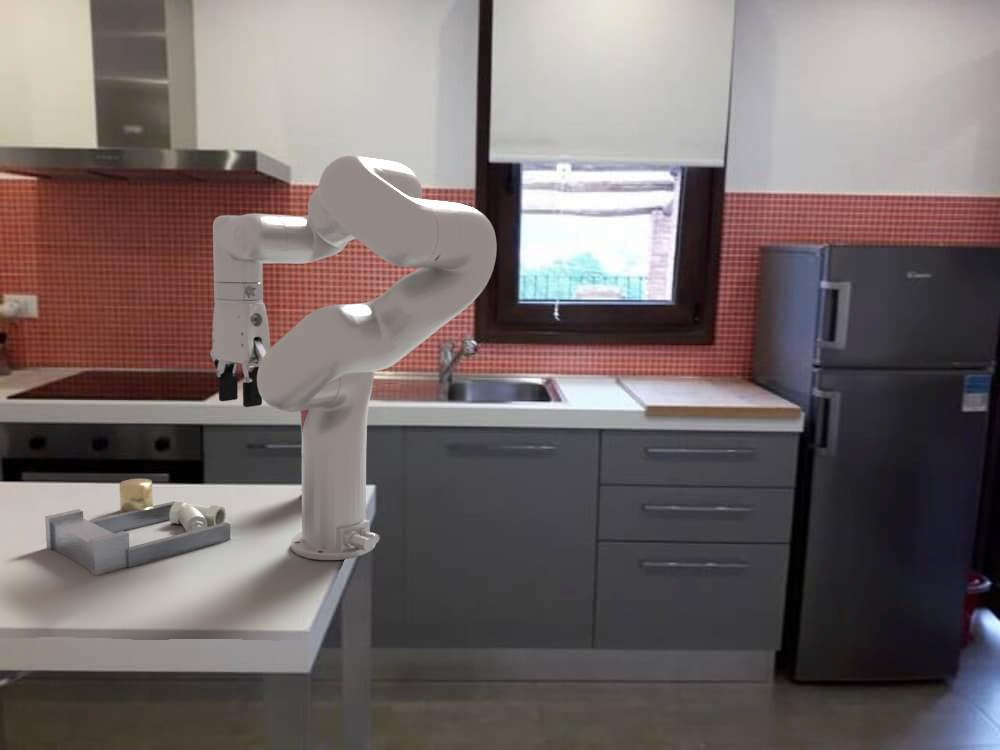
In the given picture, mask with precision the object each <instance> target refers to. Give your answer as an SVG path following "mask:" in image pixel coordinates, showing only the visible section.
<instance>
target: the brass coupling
mask: <svg viewBox="0 0 1000 750" xmlns="http://www.w3.org/2000/svg"><path fill="white" fill-rule="evenodd" d="M119 502H120V504H119V505H120V513H125V512H129V511H134V510H138V509H142V508H147V507H151V506H154V503H153V481H152V479H148V478H130V479H126V480H122V481H121V482H119Z"/></svg>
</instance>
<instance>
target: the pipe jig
mask: <svg viewBox="0 0 1000 750" xmlns="http://www.w3.org/2000/svg"><path fill="white" fill-rule="evenodd" d="M175 502H176V501H169V502H166V503H162V504H156V505H153V506H151V507H147V508H142V509H138V510H134V511H129V512H125V513H121V512H120V513H117V514H116V513H115V514H112V515H109V516H104V517H99V518H95V519H89V520H87V519H86V518H84V511H83V510H81V509H79V508H78V509H74V510H73V509H72V510H70V511H64V512H58V513H55V514H51V515H50V514H49V515H45V516H44V518H45V524H44V525H45V540H46V543H45V544H46V549H49V550H50V551H56V552H58V553H59V554H61V555H63V556H64V557H66V558H68V559H69V560H72V561H74V562H75V563H77V564H78V565H80V566H83V568H85V569H87V570H89V571H90V574H92V575H93V576H100V575H103V574H107V573H110V572H115V571H117V570H120V569H124V568H129V569H130V568H133V567H137V566H139V565H144V564H147V563H152V562H154V561H159V560H162V559H165V558H169V557H172V556H176V555H180V554H183V553H186V552H190V551H193V550H194V551H195V550H197V549H201V548H205V547H208V546H212V545H215V544H218V543H223V542H226V541H230V540H231V523H229V522H226V521H225V522H224V523H220V524H216V525H213V526H209V527H205V528H201V529H197V530H193V531H190V532H187V531H186V532H182V533H178V534H175V535H171V536H166V537H163V538H159V539H156V540H155V539H154V540H152V541H148V542H145V543H140V544H136V545H133V546H130V533H129V532H127V531H128V530H132V529H136V528H140V527H144V526H148V525H153V524H156V523H161V522H165V521H170V517H169V513H170V509H171V507H172V505H173V504H174V503H175Z"/></svg>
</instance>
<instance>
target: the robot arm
mask: <svg viewBox="0 0 1000 750" xmlns="http://www.w3.org/2000/svg"><path fill="white" fill-rule="evenodd" d="M307 213H308V214H307V215H303V216H302V215H301V216H294V215H287V214H286V215H285V214H270V213H269V214H268V213H267V214H266V213H246V214H245V213H244V214H242V215H226V214H225V215H219V216H217V217H215V219H214V220H213V223H212V255H213V256H212V257H213V295H214V296H213V297H214V298H213V300H214V301H213V302H214V305H213V306H214V308H213V314H212V315H213V316H212V317H213V319H212V334H211V335H212V338H211V339H212V348H211V350H210V352H209V355H210V356H211V359H212V361H213V365H214V366H215V369H216V377H218V401H220V402H228V401H236V400H237V399H238V395H239V394H238V393H239V392H238V391H239V389H238V376H237V375H235V374H236V370H237V366H238V365H239V366H240V365H241V368H242V372H243V375H244V376H243V377H244V382H242V406H243V407H244V408H252V407H258V406H262V404H263V401H264V402H265V404H266V405H267V406H269V407H270V408H272V409H273V410H276V411H278V412H283V413H295V412H296V413H297V412H300V411H302V410H308V409H310V410H309V412H308V415H307V417H306V420H305V423H304V427H303V432H302V431H301V489H302V491H301V532H298V533H297V534H296V535H294V537H293V538H292V539H291V542H290V543H291V544H290V545H291V550H292V551H293V552H294V553H295V554H296V555H298V556H300V557H302V558H306V559H310V560H317V561H340V560H349V559H353V558H357V557H361V556H364V555H366V554H368V553H369V552H371V551H372V550H373V549H375V547H376V544H378V542H379V541H380V539H381V538H380V535H379V534H377V533H375V532H371V531H370V524H371V523H370V522H371V521H370V520H369V519H367V518H366V516H367V514H366V513H367V512H366V511H367V510H366V509H367V501H366V500H367V437H368V436H367V435H368V433H367V431H368V413H369V407H370V406H369V405H370V400H371V396H372V392H373V391H372V390H373V387H374V386H373V385H374V377H375V372H377V371H382V370H385V369H389V368H390V367H392V366H394V365H395V364H397V363H398V362H400V360H402V359H403V358H404V357H406V356H407V355H408V354H409V353H410V352H412V351H414V350H415V349H416V348H417V347H418V346H420V345H421V344H422V343H425V341H426V340H427V339H429V338H430V337H431V336H432V335H434V334H435V332H437V331H439V330H440V329H441V328H442V327H444V326H445V325H446V324H447V323H449V322H450V321H451V320H453V319H454V318H455V317H457V316H459V315H460V314H461V313H462V312H464V311H465V310H466V309H467V308H468V307H470V305H471V304H473V302H474V301H475V300H476V299H477V298H478V297H479V296H480V295H481V293H483V291H484V289H485V288H486V286H487V284H488V283H489V280H490V279H491V277H492V273H493V271H494V267H495V263H496V258H497V250H498V249H497V247H498V246H497V245H498V243H497V238H496V237H497V236H496V232H495V229H494V227H493V225H492V223H491V221H490V220H489V219H488V218H487V216H486V215H485V214H484V213H482V212H481V211H479V210H478V209H476V208H474V207H471V206H468V205H465V204H462V203H458V202H452V201H451V202H449V201H443V200H434V199H433V200H432V199H423V188H422V185H421V182H420V180H419V178H418V176H417V175H416V174H415V173H414V172H413V170H411V169H410V168H408V167H407V166H406V165H403V164H401V163H399V162H396V161H391V160H386V159H379V158H372V157H366V156H360V155H345V156H341V157H339V158H336V159H334V160H332V162H330V163H329V164H328V165H327V166H326V167H325V168H324V170H323V172H322V174H321V176H320V179H319V183H318V187H317V188H316V189H315V190H314V191H313V192H312V193H311V195H310V196H309V200H308V202H307ZM353 240H357V241H358V242H360V243H361V244H362V245H364V246H365V247H367V248H368V249H369V250H370V251H371V252H372V253H374V254H375V255H377V256H378V257H379V258H381V259H382V260H384V261H385V262H388V263H389V264H391V265H394V266H398V267H402V268H417V270H415V271H413V272H410V273H409V274H406V275H405V276H403V277H401V278H400V279H399V280H397V281H396V282H395V283H393V285H392V286H391V287H389V289H387V290H386V291H385V292H383V293H382V294H381V295H379V296H378V297H376V298H375V299H372V300H371V301H367V302H361V303H360V302H359V303H348V304H347V303H346V304H345V303H344V304H332V305H326V306H323V307H320V308H317V309H315V310H314V311H312V312H310V313H309V314H307V315H306V316H305V317H303V318H302V319H301V320H300V321H299V322H298V323H296V324H295V325H294V326H293V327H292V328H291V329H290V330H289V331H288V332H287V333H285V335H283V336H282V337H281V338H280V339H279V340H277V342H276V343H274V344H273V345H272V346H271V343H270V342H271V339H270V328H269V327H270V326H269V319H268V313H267V308H266V303H264V295H263V294H264V285H263V283H264V282H263V281H264V280H263V279H264V278H263V275H264V274H263V269H264V268H263V264H271V265H273V264H294V265H295V264H296V265H300V264H309V263H312V262H315V261H320V260H322V259H325V258H329V257H332V256H334V255H337V254H338V253H340V252H342V251H343V250H344V249H345V247H346V246H347V244H348V243H349V242H350V241H353ZM251 368H253V369H252V371H251Z"/></svg>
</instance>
